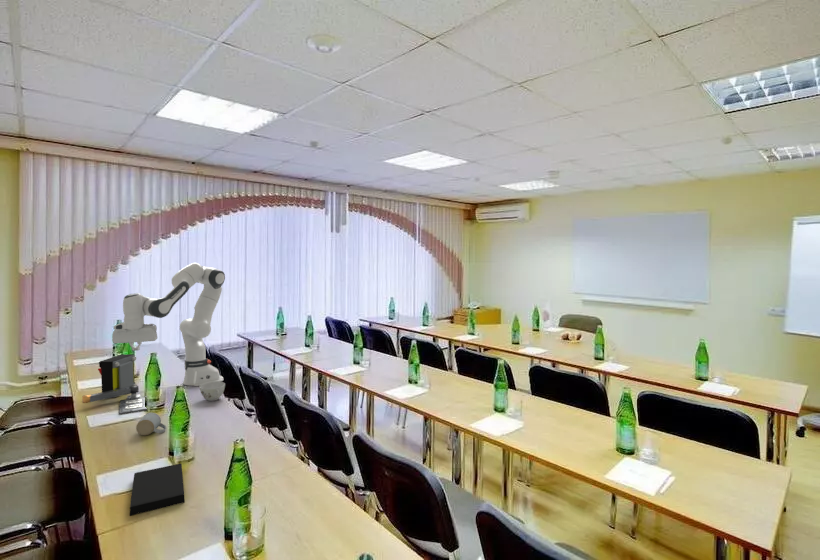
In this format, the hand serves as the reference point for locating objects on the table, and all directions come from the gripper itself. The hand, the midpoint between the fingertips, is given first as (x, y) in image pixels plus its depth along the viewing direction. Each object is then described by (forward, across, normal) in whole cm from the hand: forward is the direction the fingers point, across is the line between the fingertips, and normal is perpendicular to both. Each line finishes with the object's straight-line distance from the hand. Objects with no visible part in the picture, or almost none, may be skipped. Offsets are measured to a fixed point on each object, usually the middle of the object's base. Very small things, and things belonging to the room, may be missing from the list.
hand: (136, 350), depth 224 cm
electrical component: (+28, +16, -18) cm, 37 cm away
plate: (+27, 0, +8) cm, 28 cm away
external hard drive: (+27, -40, +100) cm, 111 cm away
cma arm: (+24, +13, -1) cm, 27 cm away
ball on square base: (+27, +5, -7) cm, 29 cm away
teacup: (+29, -38, +7) cm, 48 cm away
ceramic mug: (+27, -21, +47) cm, 58 cm away
